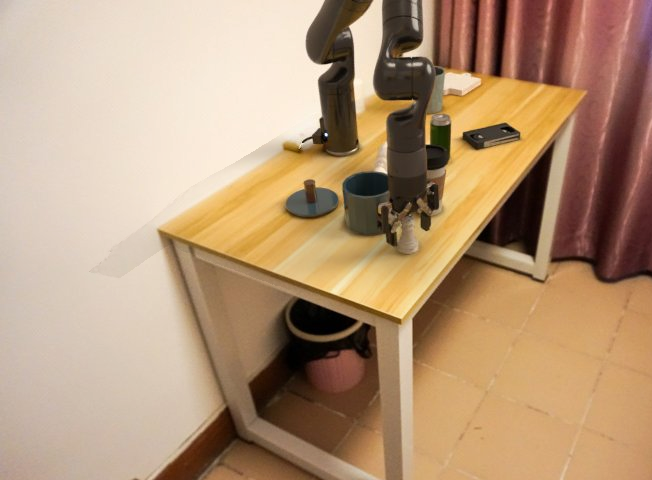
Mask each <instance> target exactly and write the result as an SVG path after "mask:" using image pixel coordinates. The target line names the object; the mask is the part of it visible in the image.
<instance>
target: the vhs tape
mask: <svg viewBox="0 0 652 480" xmlns="http://www.w3.org/2000/svg"><path fill="white" fill-rule="evenodd" d="M462 140H463V141H464V142H466V143H467V144H468V145H470V146H471V147H472V148H474V149H475V150H482V149H486V148H491V147H495V146H498V145H502V144H506V143H507V144H508V143H511V142H515V141H519V140H521V132H520V131H519V130H518V129H516V128H515V127H513V126H512V125H510V124H509V123H507V122H501V123H497V124H493V125H489V126H485V127H480V128H476V129H472V130H471V129H470V130H467V131H462Z"/></svg>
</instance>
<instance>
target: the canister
mask: <svg viewBox="0 0 652 480" xmlns="http://www.w3.org/2000/svg"><path fill="white" fill-rule="evenodd" d="M341 189H342V200H343V206H344V207H343V208H344V219H345V225H346V227H347V228H348V229H349V230H350V231H351V232H353V233H355V234H358V235H363V236H377V235H382V234H384V233H383V232H381V231H380V230H378V229H377V228H376V204H377V202H381V203H385V202H388V201H389V198H390V192H389V189H388V176H387V174H386V173H383V172H376V171H373V170H368V171H360V172H356V173H353V174H351V175H350V176H347V177H346V178H345V179H344V180H343V182H342V183H341ZM395 216H397V217H398V213H397V212H396V211H395ZM393 222H394V220H393V221H392V223H391V225H392V224H393Z"/></svg>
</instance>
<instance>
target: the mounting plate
mask: <svg viewBox="0 0 652 480" xmlns="http://www.w3.org/2000/svg"><path fill="white" fill-rule="evenodd" d="M480 85H482V78H480V77H475V76H472V74H471V73H468V72H463V73H455V72H450V71H448V72H446V73H445V79H444V88H443V96H448V95H455V96H458V97H463V96H465V95H467V94H468V93H470V92H472V91H473V90H474V89H476V88H478V87H479V86H480Z"/></svg>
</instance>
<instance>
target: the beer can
mask: <svg viewBox="0 0 652 480" xmlns="http://www.w3.org/2000/svg"><path fill="white" fill-rule="evenodd" d="M429 144H431V145H439V146H443V147H445V148H446V150H447V156H448V163H449V162H450V160H451V145H452V119H451V116H450V115H449V114H447V113H434V114H433V115H431V116H430V121H429Z"/></svg>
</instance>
